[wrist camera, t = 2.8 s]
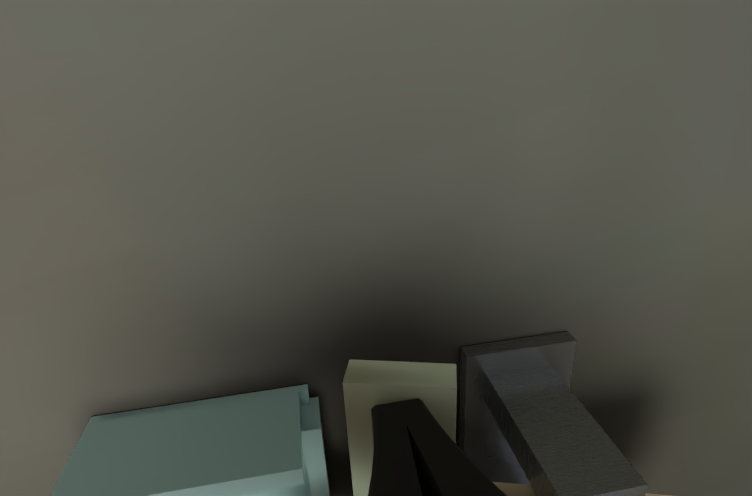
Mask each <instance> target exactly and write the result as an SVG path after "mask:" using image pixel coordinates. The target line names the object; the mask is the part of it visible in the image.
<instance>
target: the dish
mask: <svg viewBox="0 0 752 496" xmlns="http://www.w3.org/2000/svg"><path fill="white" fill-rule="evenodd" d="M50 496H330V488H329V480H328V472H327V464H326V456H325V448H324V440H323V432H322V424H321V416H320V407H319V399H318V397H313V398H309V391H308V384H305V385H298V386H292V387H285V388H278V389H272V390H265V391H259V392H252V393H245V394H239V395H232V396H225V397H219V398H212V399H206V400H199V401H192V402H186V403H179V404H172V405H166V406H159V407H153V408H146V409H139V410H133V411H126V412H120V413H113V414H106V415H100V416H93V417H91V418H90V420H89V422H88V424H87V426H86V428H85V429H84V431H83V433H82V435H81V437H80V439H79V441H78V443H77V445H76V447H75V449H74V451H73V453H72V455H71V457H70V458H69V460H68V462H67V464H66V466H65V468H64V470H63V472H62V474H61V476H60V478H59V480H58V482H57V484H56V486H55V487H54V489H53V491H52V493H51V495H50Z"/></svg>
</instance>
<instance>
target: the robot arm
mask: <svg viewBox="0 0 752 496" xmlns="http://www.w3.org/2000/svg"><path fill="white" fill-rule="evenodd" d="M371 417H372V432H373V446H374V451H373V463H372V473H371V480H370V486H369V492H368V496H507V495H506V494H505V493H504V492H503V491H501V490H500V489H499V488H498V487H497V486H496V485H495V484H494V483H493V482H492V481H491V480H490V479H489V478H488V477H487V476H486V475H485V474H484V473H483V472H482V471H481V470H480V469H479V468H478V467H477V466H476V465H475V464H474V463H473V462H472V461H471V460H470V459H469V458H468V457H467V456H466V454H465V453H464V452H463V451H462V450H461V449H460V448H459V447H458V446H457V444H456V443H455V442H454V441H453V440H452V439H451V438H450V436H449V435H448V434H447V433H446V432H445V430H444V429H443V428H442V427H441V425H440V424H439V423H438V422H437V420H436V419H435V418H434V417H433V415H432V414H431V413H430V411H429V410H428V408H427V407H426V406H425V404H424V403H423V401H421V400H420V399H419V398H417V399H411V400H405V401H399V402H392V403H386V404H380V405H375V406H374V407H373V408H372V409H371Z"/></svg>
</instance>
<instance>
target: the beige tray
mask: <svg viewBox="0 0 752 496" xmlns="http://www.w3.org/2000/svg"><path fill="white" fill-rule="evenodd" d="M343 393H344V403H345V413H346V424H347V434H348V444H349V454H350V465H351V475H352V485H353V496H368V492H369V486H370V480H371V473H372V463H373V451H374V446H373V432H372V417H371V409H372V408H373V407H374V406H375V405H380V404H386V403H392V402H399V401H405V400H411V399H417V398H419V399H420V400H421V401H423V403H424V404H425V406H426V407H427V408H428V410H429V411H430V413H431V414H432V415H433V417H434V418H435V419H436V420H437V422H438V423H439V424H440V425H441V427H442V428H443V429H444V430H445V432H446V433H447V434H448V435H449V436H450V438H451V439H452V440H453V441H454V442H455V443H456V404H457V375H456V364H447V363H423V362H400V361H376V360H352V359H349V362H348V366H347V369H346V372H345V376H344V379H343ZM493 483H494V484H495V485H496V486H497V487H498V488H499V489H500V490H501V491H503V492H504V493H505V494H506V495H507V496H537V495H536V493H535V491H534V490H533V488H532V486H531V485H528V484H515V483H502V482H493ZM645 496H674V495H660V494H647V493H646V495H645Z"/></svg>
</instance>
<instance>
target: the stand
mask: <svg viewBox="0 0 752 496" xmlns="http://www.w3.org/2000/svg"><path fill="white" fill-rule="evenodd" d="M575 348H576V340H575V338H574V337H573V336H572V335H571V334H570V333H569V332H568V331H566V332H559V333H552V334H546V335H539V336H532V337H525V338H518V339H512V340H505V341H498V342H491V343H484V344H477V345H471V346H464V347H461V363H460V403H459V442H458V447H459V448H460V449H461V450H462V451H463V452H464V453H465V454H466V456H467V457H468V458H469V459H470V460H471V461H472V462H473V463H474V464H475V465H476V466H477V467H478V468H479V469H480V470H481V471H482V472H483V473H484V474H485V475H486V476H487V477H488V478H489V479H490V480H491V481H492V482H502V483H515V484H528V485H531V486H532V488H533V490H534V491H535V493H536V495H537V496H645V495H646V491H647V487H648V484H647V483H646V482H645V480H644V479H643V478H642V477H641V476H640V474H639V473H638V472H637V471H636V469H635V468H634V467H633V466H632V464H631V463H630V462H629V461H628V460H627V458H626V457H625V456H624V455H623V453H622V452H621V451H620V450H619V449H618V447H617V446H616V445H615V444H614V442H613V441H612V440H611V439H610V437H609V436H608V435H607V434H606V433H605V431H604V430H603V429H602V428H601V426H600V425H599V424H598V423H597V422H596V420H595V419H594V418H593V417H592V415H591V414H590V413H589V412H588V410H587V409H586V408H585V407H584V406H583V404H582V403H581V402H580V401H579V399H578V398H577V397H576V396H575V394H574V393H573V392H572V391H571V390H570V384H571V377H572V370H573V363H574V356H575Z"/></svg>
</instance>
